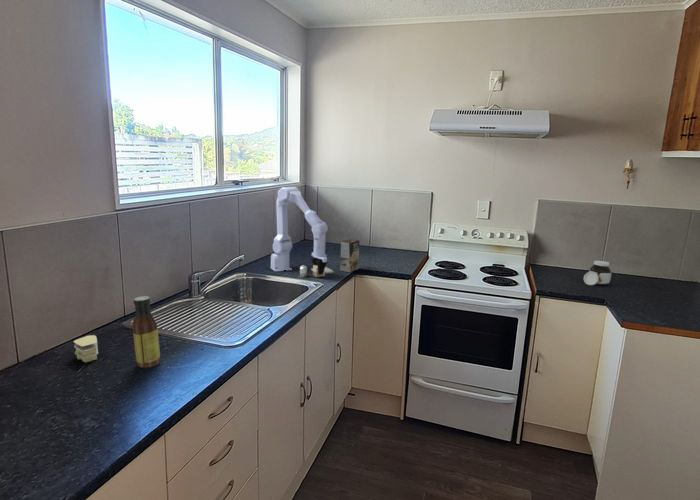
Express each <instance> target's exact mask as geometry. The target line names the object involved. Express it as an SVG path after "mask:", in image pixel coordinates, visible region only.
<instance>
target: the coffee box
mask: <svg viewBox="0 0 700 500" xmlns="http://www.w3.org/2000/svg"><path fill="white" fill-rule="evenodd" d="M359 255H360V240H358V239H351V238H350V239H346V240H342V241H340V263H339V264H340V265H339V271H341V272H347V273H351V272H354V271H357V270H359V257H360V256H359Z"/></svg>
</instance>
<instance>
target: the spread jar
mask: <svg viewBox="0 0 700 500" xmlns="http://www.w3.org/2000/svg"><path fill="white" fill-rule="evenodd" d="M611 278H612V270H611V268H610V262H609V261H605V260H594V261H593V264H592V265H591V266H590V267H589V271H588V272H586V273H585V274H584V275H583V282H584V284H585V285H588V286H594V285H595V286H600V287H603V286H605V287H606V286H607V285H609V284H610V281H611Z"/></svg>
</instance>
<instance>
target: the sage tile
mask: <svg viewBox="0 0 700 500" xmlns="http://www.w3.org/2000/svg"><path fill="white" fill-rule="evenodd" d="M310 271H312V272H313V267H312V268H310ZM334 272H335V271H334V270H333V269H331V268H329V267H327V266H325V274H332V273H334Z"/></svg>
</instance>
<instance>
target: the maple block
mask: <svg viewBox="0 0 700 500" xmlns="http://www.w3.org/2000/svg"><path fill="white" fill-rule="evenodd" d="M312 268H313V271H312V276H313V277H315V278H320V277H321V278H322V277H326V276H325V274H326V273H325V268H324V272H323V274H319V273H318V266H317V265H313V264H312Z"/></svg>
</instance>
